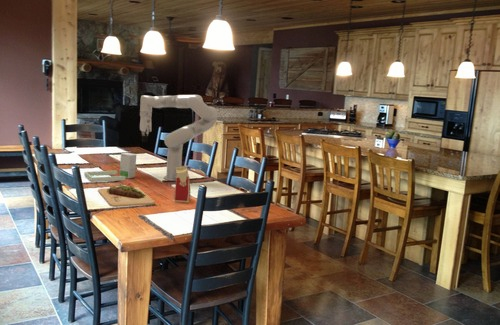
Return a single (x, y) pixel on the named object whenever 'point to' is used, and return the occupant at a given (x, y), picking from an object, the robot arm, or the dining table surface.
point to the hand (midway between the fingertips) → (144, 141)
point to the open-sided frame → (96, 179)
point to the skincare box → (127, 165)
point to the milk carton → (182, 185)
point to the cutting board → (125, 196)
